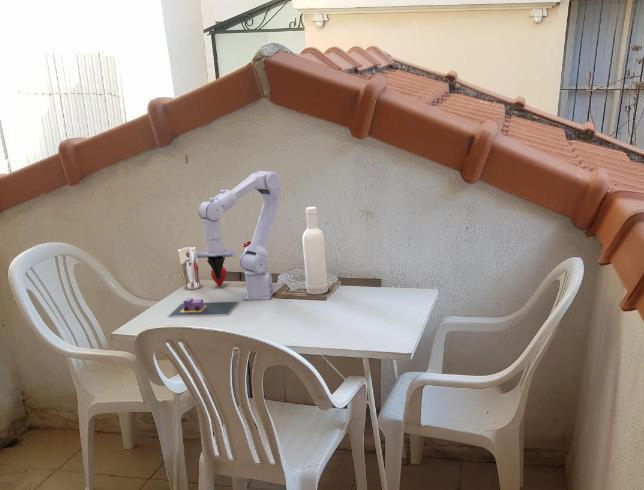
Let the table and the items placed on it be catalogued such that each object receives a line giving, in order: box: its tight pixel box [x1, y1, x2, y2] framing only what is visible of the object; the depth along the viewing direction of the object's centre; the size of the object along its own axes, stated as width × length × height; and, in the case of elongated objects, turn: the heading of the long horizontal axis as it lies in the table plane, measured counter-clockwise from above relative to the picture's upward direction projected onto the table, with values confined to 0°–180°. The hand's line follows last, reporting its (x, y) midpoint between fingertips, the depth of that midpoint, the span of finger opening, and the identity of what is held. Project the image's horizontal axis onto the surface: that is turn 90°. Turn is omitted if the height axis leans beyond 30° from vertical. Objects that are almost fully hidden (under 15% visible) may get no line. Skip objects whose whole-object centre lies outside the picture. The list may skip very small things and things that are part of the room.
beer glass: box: [178, 246, 202, 290], centre depth 272 cm, size 7×7×15 cm
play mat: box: [169, 301, 238, 317], centre depth 247 cm, size 21×14×1 cm, turn 82°
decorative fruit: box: [210, 265, 227, 287], centre depth 271 cm, size 6×8×10 cm
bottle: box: [302, 206, 329, 295], centre depth 250 cm, size 8×8×30 cm
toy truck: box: [182, 297, 205, 311], centre depth 247 cm, size 6×5×3 cm
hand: (218, 278), depth 244 cm, fingers closed
